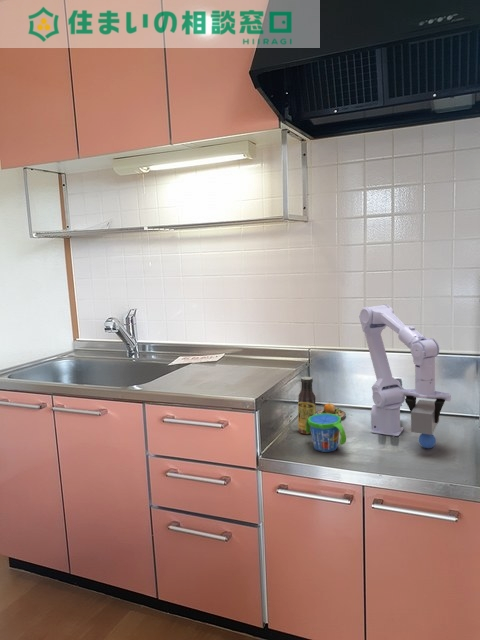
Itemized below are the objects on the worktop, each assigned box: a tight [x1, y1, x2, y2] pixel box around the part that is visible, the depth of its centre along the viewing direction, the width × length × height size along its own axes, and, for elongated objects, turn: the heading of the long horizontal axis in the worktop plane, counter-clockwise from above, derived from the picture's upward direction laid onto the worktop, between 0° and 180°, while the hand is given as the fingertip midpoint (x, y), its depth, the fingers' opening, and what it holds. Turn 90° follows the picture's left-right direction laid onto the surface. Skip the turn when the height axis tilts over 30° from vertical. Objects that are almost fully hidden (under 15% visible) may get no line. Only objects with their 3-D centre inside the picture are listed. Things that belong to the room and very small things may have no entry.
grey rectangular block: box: [410, 399, 440, 435], centre depth 154 cm, size 6×12×6 cm, turn 149°
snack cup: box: [305, 413, 347, 453], centre depth 160 cm, size 16×10×10 cm
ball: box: [418, 433, 437, 449], centre depth 156 cm, size 5×5×5 cm
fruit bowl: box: [316, 401, 347, 421], centre depth 189 cm, size 12×12×8 cm
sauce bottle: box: [297, 376, 317, 435], centre depth 174 cm, size 7×6×20 cm
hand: (425, 420), depth 154 cm, fingers closed on grey rectangular block, 6 cm apart
